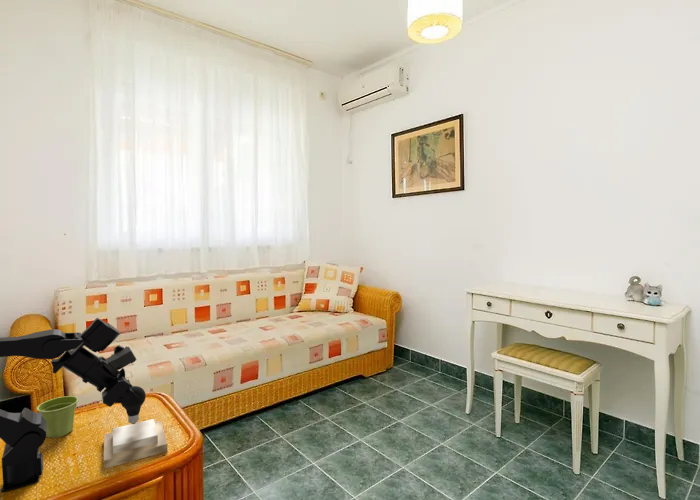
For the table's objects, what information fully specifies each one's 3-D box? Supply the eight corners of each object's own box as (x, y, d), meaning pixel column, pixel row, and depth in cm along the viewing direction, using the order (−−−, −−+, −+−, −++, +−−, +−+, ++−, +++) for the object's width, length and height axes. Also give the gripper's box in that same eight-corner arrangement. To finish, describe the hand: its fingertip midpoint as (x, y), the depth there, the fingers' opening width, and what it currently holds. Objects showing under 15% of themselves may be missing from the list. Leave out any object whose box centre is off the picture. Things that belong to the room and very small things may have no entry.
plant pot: (41, 446, 103) (39, 414, 103) (35, 433, 110) (34, 403, 109) (83, 432, 110) (81, 403, 110) (75, 421, 117) (74, 393, 116)
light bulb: (150, 422, 104) (150, 385, 103) (128, 431, 99) (127, 393, 98) (138, 416, 107) (137, 380, 106) (116, 425, 102) (115, 388, 101)
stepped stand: (103, 468, 94) (103, 453, 94) (104, 441, 106) (104, 427, 105) (167, 451, 101) (166, 436, 101) (161, 427, 113) (160, 414, 113)
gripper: (118, 349, 92) (169, 383, 99) (110, 331, 107) (155, 363, 114) (79, 389, 87) (135, 422, 95) (76, 365, 102) (125, 395, 110)
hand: (138, 398), depth 103 cm, fingers closed on light bulb, 6 cm apart
